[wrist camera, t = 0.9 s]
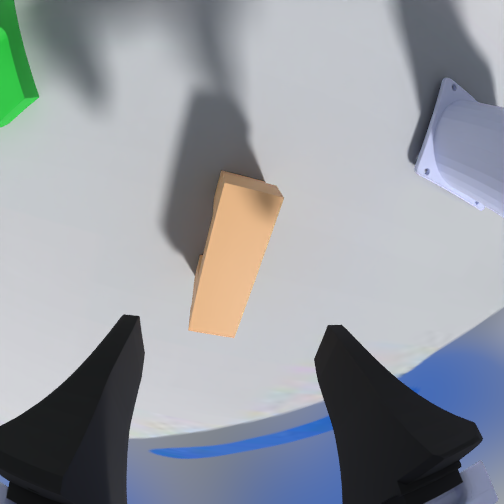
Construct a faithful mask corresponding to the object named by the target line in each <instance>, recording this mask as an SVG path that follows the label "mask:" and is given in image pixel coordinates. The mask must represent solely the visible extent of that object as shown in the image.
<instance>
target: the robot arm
mask: <svg viewBox="0 0 504 504" xmlns="http://www.w3.org/2000/svg"><path fill="white" fill-rule="evenodd" d="M452 86H453V90H452ZM425 169H427V171H426V173H424V172H425ZM415 172H416V173H417V174H418V175H420V176H422V177H424V178H426V179H428V180H429V181H431V182H433V183H435V184H437V185H439V186H440V187H442V188H444V189H446V190H447V191H449V192H451V193H453V194H454V195H456V196H458V197H459V198H461V199H463V200H464V201H466V202H468V203H469V204H471V205H473V206H474V207H476V208H477V209H479V210H481V211H482V210H483V209H484V208H485V206H486V207H487V208H489V209H491V210H492V211H494V212H495V213H497V214H498V215H500V216H502V217H503V218H504V108H503V107H499V106H494V105H489V104H484V103H479V102H478V101H477V100H475V99H474V98H473V97H472V96H471V95H470V94H469V93H468V92H466V91H465V90H464V89H463V88H462V87H461V86H459V85H458V84H457V83H456V82H454V81H453V80H452V79H451V78H444V79H443V80H442V84H441V87H440V91H439V95H438V98H437V102H436V105H435V108H434V112H433V115H432V118H431V121H430V124H429V127H428V130H427V133H426V136H425V139H424V142H423V145H422V148H421V151H420V153H419V156H418V159H417V162H416V164H415ZM144 355H145V352H144V345H143V339H142V332H141V325H140V317H139V316H133V315H123V316H122V317H121V318H120V319H119V320H118V322H117V323H116V324H115V326H114V327H113V328H112V329H111V331H110V332H109V333H108V334H107V336H106V337H105V338H104V339H103V341H102V342H101V343H100V344H99V345H98V347H97V348H96V349H95V350H94V351H93V352H92V354H91V355H90V356H89V357H88V358H87V359H86V360H85V361H84V362H83V363H82V365H81V366H80V367H79V368H78V369H77V370H76V371H75V372H74V373H73V374H72V375H71V376H70V377H69V378H68V379H67V380H66V381H64V382H63V383H62V384H61V385H60V386H59V387H58V388H57V389H55V390H54V391H53V392H52V393H51V394H49V395H48V396H47V397H46V398H44V399H43V400H42V401H40V402H39V403H38V404H36V405H35V406H33V407H32V408H30V409H29V410H27V411H26V412H24V413H23V414H21V415H20V416H18V417H16V418H15V419H13V420H11V421H9V422H7V423H5V424H3V425H1V426H0V475H1V476H3V477H4V478H5V479H7V480H8V481H10V483H9V487H7V486H6V485H4V484H2V483H0V504H127V494H126V493H127V492H126V471H127V451H128V439H129V430H130V424H131V419H132V415H133V411H134V406H135V402H136V398H137V394H138V389H139V385H140V381H141V377H142V370H143V363H144ZM314 361H315V367H316V373H317V378H318V382H319V386H320V389H321V392H322V395H323V398H324V401H325V404H326V407H327V410H328V413H329V417H330V420H331V423H332V426H333V430H334V434H335V438H336V444H337V450H338V456H339V463H340V471H341V481H342V499H343V504H495V503H496V502H497V501H498V497H497V495H496V492H495V490H494V487H493V485H492V483H491V480H490V478H489V476H488V473H487V471H486V469H485V467H484V465H483V462H482V461H479V462H477V463H476V464H474V465H473V466H471V467H469V468H468V469H466V470H464V471H463V472H461V473H459V471H458V469H459V468H460V467H461V463H460V461H459V460H460V459H461V458H462V457H464V456H465V455H466V454H468V453H469V452H470V451H472V450H473V449H474V448H475V447H476V446H478V445H479V444H480V443H481V441H482V439H483V438H482V436H481V434H480V432H479V430H478V428H477V426H476V424H475V423H474V422H471V421H469V420H466V419H464V418H461V417H458V416H456V415H454V414H452V413H449V412H447V411H445V410H443V409H441V408H440V407H438V406H436V405H434V404H432V403H431V402H429V401H428V400H426V399H424V398H423V397H421V396H420V395H418V394H417V393H415V392H414V391H413V390H411V389H410V388H409V387H407V386H406V385H405V384H403V383H402V382H401V381H399V380H398V379H397V378H396V377H395V376H394V375H392V374H391V373H390V372H389V371H388V370H387V369H386V368H385V367H384V366H382V365H381V364H380V363H379V362H378V361H377V360H376V359H375V358H374V357H373V356H372V355H371V354H370V353H369V352H368V351H367V350H366V349H365V348H364V347H363V346H362V345H361V344H360V343H359V342H358V341H357V340H356V339H355V338H354V337H353V335H352V334H351V333H350V332H349V331H348V330H347V329H346V328H344V327H343V326H342V325H328V327H327V329H326V332H325V334H324V337H323V339H322V342H321V344H320V346H319V349H318V351H317V354H316V356H315V358H314Z"/></svg>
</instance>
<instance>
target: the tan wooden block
mask: <svg viewBox="0 0 504 504" xmlns="http://www.w3.org/2000/svg"><path fill="white" fill-rule="evenodd" d="M283 199H284V197H283V196H282V194H281V192H280V191H279V189H278V188H277V186H275V185H271V184H268V183H266V182H265V181H261V180H258V179H254V178H250V177H246V176H242V175H238V174H234V173H230V172H226V171H222V170H221V173H220V177H219V181H218V184H217V188H216V192H215V196H214V205H213V216H212V220H211V224H210V228H209V232H208V236H207V240H206V244H205V248H204V253H203V255H200V256H199V261H198V265H197V269H196V274H195V280H194V289H193V298H192V305H191V310H190V319H189V331H195V332H200V333H206V334H212V335H218V336H225V337H231V338H234V337H235V334H236V332H237V329H238V326H239V323H240V321H241V318H242V315H243V312H244V309H245V307H246V304H247V301H248V298H249V296H250V293H251V290H252V287H253V284H254V282H255V279H256V276H257V273H258V270H259V268H260V265H261V262H262V259H263V256H264V253H265V251H266V248H267V245H268V242H269V239H270V236H271V234H272V231H273V228H274V225H275V222H276V219H277V216H278V214H279V211H280V208H281V205H282V202H283Z"/></svg>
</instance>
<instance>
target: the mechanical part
mask: <svg viewBox="0 0 504 504" xmlns="http://www.w3.org/2000/svg"><path fill="white" fill-rule="evenodd" d="M38 98H39V95H38V92H37V89H36V86H35V83H34V80H33V77H32V74H31V70H30V67H29V64H28V60H27V57H26V53H25V49H24V46H23V42H22V38H21V34H20V29H19V25H18V20H17V15H16V10H15V5H14V0H0V127H3V126H5V125H7V124H9V123H10V122H11V121H12V120H13V119H14V118H15V117H17V116H18V115H19V114H20V113H21V112H22V111H23V110H24V109H26V108H27V107H28V106H29V105H30V104H32V103H33V102H34V101H35V100H36V99H38Z"/></svg>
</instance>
